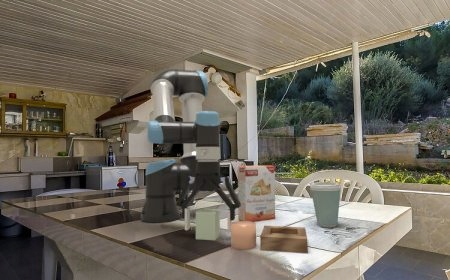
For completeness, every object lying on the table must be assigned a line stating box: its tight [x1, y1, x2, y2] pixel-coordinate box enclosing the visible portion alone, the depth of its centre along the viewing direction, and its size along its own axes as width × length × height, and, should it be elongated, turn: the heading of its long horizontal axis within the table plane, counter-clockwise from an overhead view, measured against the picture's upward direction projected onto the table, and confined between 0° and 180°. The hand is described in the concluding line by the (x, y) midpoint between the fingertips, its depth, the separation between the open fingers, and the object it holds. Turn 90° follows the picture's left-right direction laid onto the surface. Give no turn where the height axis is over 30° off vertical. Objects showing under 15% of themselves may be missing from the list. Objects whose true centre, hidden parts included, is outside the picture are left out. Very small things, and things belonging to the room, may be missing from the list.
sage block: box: [195, 208, 221, 241], centre depth 88 cm, size 6×6×8 cm
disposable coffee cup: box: [309, 181, 342, 228], centre depth 102 cm, size 11×11×15 cm
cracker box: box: [237, 165, 276, 222], centre depth 112 cm, size 14×6×21 cm, turn 117°
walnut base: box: [259, 225, 309, 254], centre depth 80 cm, size 12×12×4 cm
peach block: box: [230, 220, 257, 250], centre depth 80 cm, size 7×7×6 cm
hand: (208, 230), depth 88 cm, fingers open, 13 cm apart
